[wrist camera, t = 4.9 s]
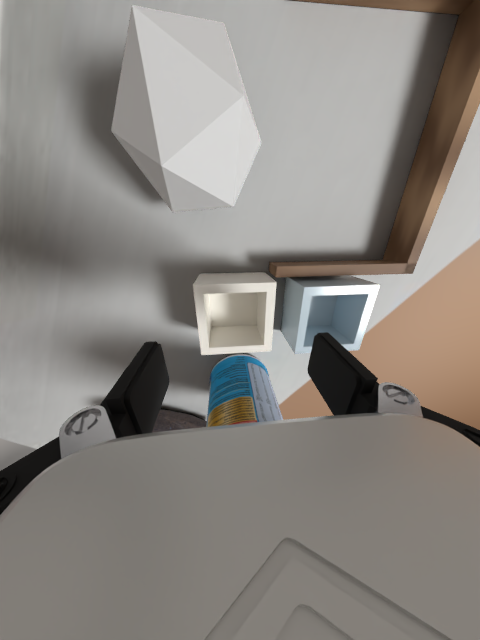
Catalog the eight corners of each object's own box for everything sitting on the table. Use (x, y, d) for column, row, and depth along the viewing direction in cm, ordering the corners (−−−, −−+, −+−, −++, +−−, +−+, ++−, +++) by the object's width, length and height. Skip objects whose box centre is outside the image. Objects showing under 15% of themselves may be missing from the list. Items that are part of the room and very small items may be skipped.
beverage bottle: (278, 360, 25) (419, 681, 7) (253, 402, 28) (306, 699, 10) (221, 343, 23) (215, 728, 5) (201, 389, 26) (151, 734, 8)
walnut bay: (285, -27, 12) (304, -107, 9) (479, -8, 13) (549, -74, 10) (268, 271, 20) (276, 277, 17) (387, 268, 21) (412, 273, 18)
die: (269, 144, 16) (242, -139, 6) (259, 237, 15) (213, 66, 6) (187, 159, 18) (78, -36, 9) (174, 241, 17) (41, 122, 8)
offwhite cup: (199, 273, 19) (192, 284, 15) (264, 271, 20) (276, 282, 15) (205, 330, 22) (201, 355, 18) (261, 328, 23) (271, 351, 18)
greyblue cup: (286, 275, 20) (304, 287, 16) (345, 274, 21) (380, 284, 16) (280, 330, 23) (294, 353, 18) (332, 328, 23) (358, 349, 19)
